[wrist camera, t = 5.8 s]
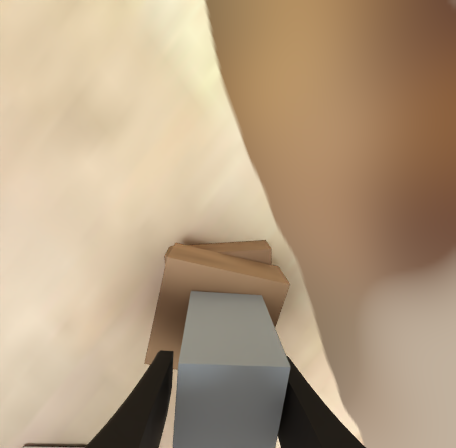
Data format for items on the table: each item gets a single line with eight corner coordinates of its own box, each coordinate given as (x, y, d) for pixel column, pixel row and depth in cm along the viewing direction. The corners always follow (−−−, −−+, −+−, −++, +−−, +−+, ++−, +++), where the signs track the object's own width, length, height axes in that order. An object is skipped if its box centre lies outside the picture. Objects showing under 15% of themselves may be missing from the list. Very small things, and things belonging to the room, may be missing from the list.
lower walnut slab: (264, 318, 20) (271, 339, 17) (180, 324, 19) (175, 347, 17) (263, 238, 18) (271, 249, 15) (171, 243, 18) (164, 256, 15)
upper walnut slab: (250, 353, 17) (255, 383, 15) (155, 334, 16) (144, 363, 14) (278, 266, 16) (289, 284, 13) (175, 242, 15) (167, 257, 13)
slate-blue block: (252, 355, 14) (274, 451, 9) (186, 352, 14) (172, 451, 9) (261, 295, 13) (290, 366, 8) (190, 291, 13) (178, 363, 8)
